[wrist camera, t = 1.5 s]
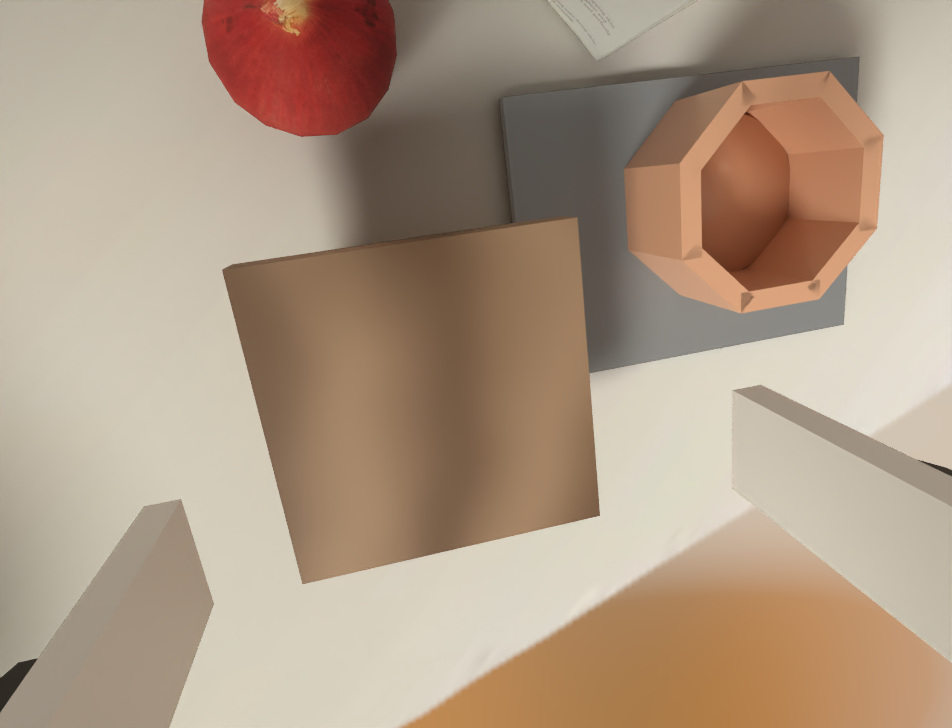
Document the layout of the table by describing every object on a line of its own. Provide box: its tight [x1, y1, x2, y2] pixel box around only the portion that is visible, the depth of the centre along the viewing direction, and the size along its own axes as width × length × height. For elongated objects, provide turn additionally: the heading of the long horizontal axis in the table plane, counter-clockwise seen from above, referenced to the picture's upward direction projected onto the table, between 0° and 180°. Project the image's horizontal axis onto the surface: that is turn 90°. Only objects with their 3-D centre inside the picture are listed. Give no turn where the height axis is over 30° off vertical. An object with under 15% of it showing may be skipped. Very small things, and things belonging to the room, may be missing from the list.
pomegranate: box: [202, 0, 397, 137], centre depth 18 cm, size 6×6×8 cm
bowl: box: [624, 71, 884, 313], centre depth 24 cm, size 8×8×4 cm
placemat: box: [499, 57, 859, 373], centre depth 26 cm, size 16×12×1 cm
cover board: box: [222, 216, 600, 584], centre depth 20 cm, size 11×11×2 cm
